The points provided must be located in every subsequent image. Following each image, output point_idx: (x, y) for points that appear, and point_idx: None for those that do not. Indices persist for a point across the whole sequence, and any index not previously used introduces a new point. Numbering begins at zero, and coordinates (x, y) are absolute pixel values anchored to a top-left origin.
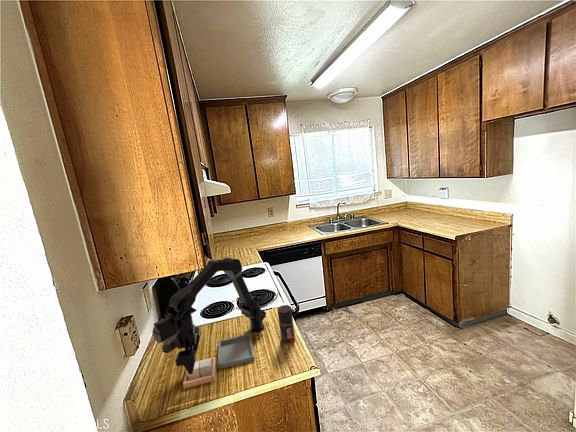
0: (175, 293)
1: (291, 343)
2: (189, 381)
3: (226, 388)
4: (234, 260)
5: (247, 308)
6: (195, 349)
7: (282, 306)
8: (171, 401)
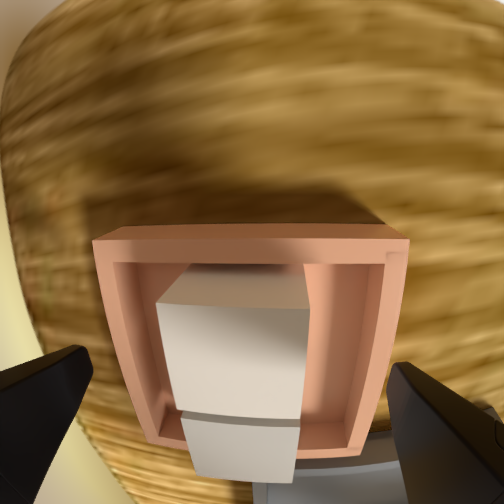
0: None
1: None
2: (110, 296)
3: (116, 438)
4: None
5: None
6: (415, 480)
7: None
8: (53, 156)
